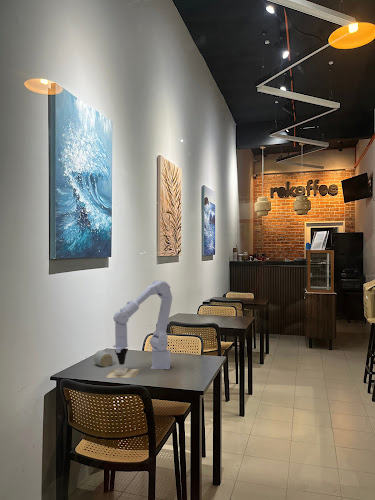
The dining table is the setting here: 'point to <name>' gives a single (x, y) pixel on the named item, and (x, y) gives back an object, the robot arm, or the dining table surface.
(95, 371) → the dining table surface
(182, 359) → the dining table surface
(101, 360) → the ceramic mug
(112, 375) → the board
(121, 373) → the tile
